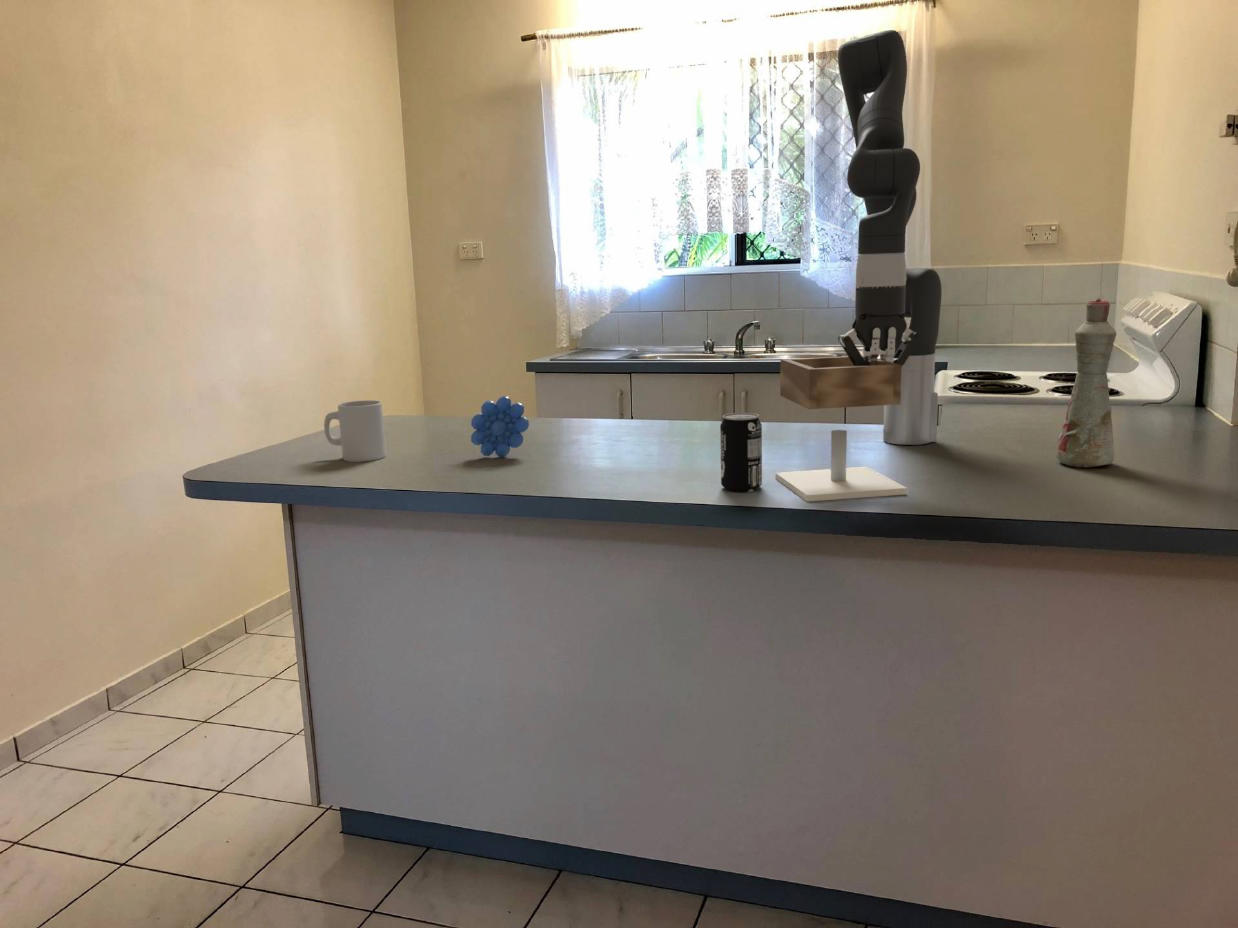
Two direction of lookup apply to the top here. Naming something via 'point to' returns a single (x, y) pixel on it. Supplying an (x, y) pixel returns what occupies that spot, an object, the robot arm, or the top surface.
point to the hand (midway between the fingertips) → (877, 394)
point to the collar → (839, 382)
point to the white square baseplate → (839, 478)
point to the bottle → (1090, 394)
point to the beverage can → (741, 452)
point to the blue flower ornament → (499, 427)
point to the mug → (359, 430)
